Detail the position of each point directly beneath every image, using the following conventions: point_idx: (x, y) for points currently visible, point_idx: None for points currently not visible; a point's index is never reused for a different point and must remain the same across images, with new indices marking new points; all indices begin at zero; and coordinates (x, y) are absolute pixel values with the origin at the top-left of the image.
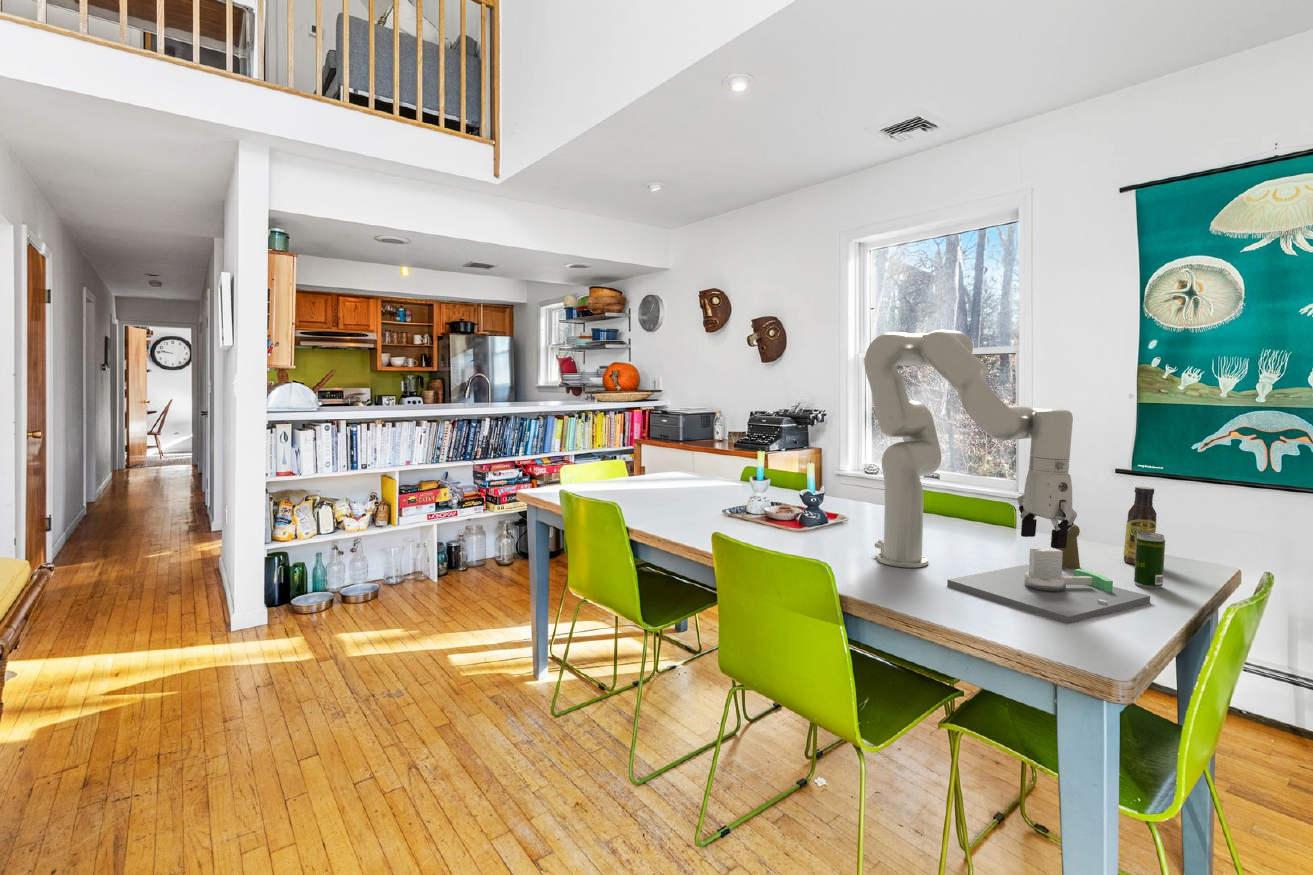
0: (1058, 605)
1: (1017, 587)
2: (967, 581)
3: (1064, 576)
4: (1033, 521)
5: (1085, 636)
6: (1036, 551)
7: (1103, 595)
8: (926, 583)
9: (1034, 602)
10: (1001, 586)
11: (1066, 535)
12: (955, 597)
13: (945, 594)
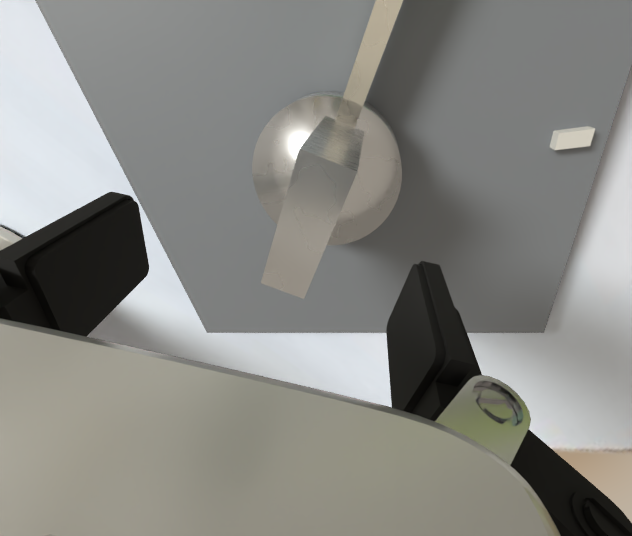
0: (477, 283)
1: None
2: (227, 310)
3: (350, 89)
4: (51, 281)
5: (600, 347)
6: (306, 291)
7: (524, 9)
8: (192, 339)
9: None
10: None
11: (458, 328)
12: (289, 357)
13: (267, 358)
